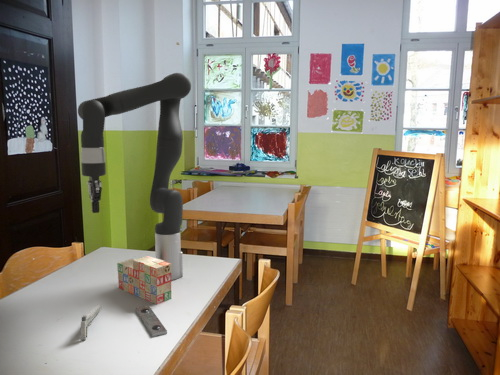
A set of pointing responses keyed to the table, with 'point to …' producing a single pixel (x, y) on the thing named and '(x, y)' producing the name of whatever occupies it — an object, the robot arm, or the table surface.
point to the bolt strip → (151, 321)
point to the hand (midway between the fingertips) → (95, 212)
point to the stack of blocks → (146, 278)
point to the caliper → (88, 322)
